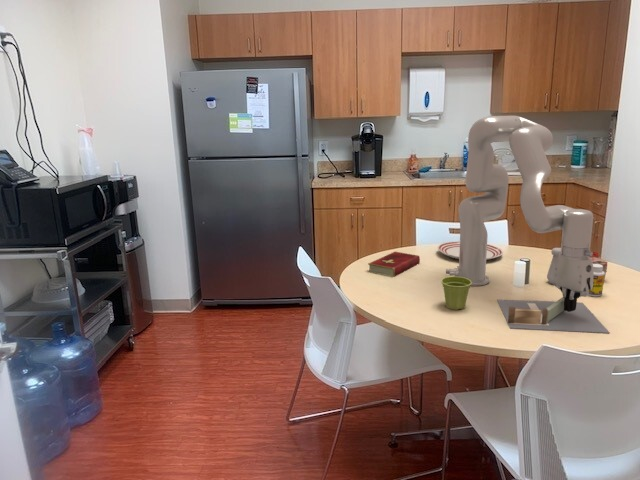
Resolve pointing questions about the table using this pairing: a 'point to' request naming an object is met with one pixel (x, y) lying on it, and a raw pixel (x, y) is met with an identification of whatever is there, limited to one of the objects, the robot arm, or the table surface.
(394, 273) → the hardcover book
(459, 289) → the plant pot
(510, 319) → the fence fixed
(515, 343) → the table surface
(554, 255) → the salt shaker
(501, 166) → the robot arm
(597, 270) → the supplement bottle
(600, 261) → the food item
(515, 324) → the card
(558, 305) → the bar
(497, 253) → the dinner plate
